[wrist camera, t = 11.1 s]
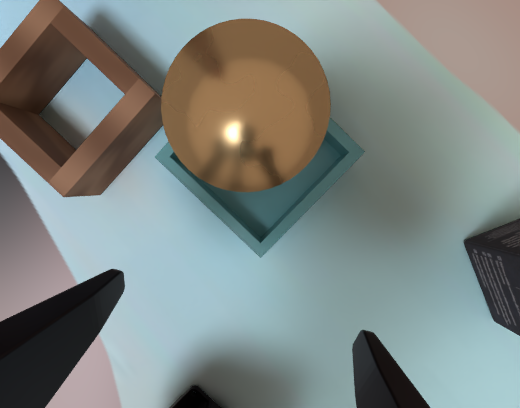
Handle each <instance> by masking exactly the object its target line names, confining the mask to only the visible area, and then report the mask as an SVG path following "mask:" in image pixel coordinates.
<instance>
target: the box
mask: <svg viewBox="0 0 520 408" xmlns="http://www.w3.org/2000/svg"><path fill="white" fill-rule="evenodd" d="M464 244H465V247H466V250H467V252H468V255H469V257H470V260H471V262H472V265H473V268H474V270H475V273H476V275H477V278H478V281H479V283H480V286H481V289H482V291H483V294H484V296H485V299H486V301H487V304H488V306H489V309H490V312H491V314H492V317H493V319H494V321H495V322H496V323H498V324H500V325H502V326H503V327H505V328H507V329H509V330H510V331H512V332H514V333H516V334H517V335H519V336H520V219H518V220H516V221H513V222H511V223H508V224H506V225H503V226H501V227H498V228H496V229H493V230H490V231H488V232H485V233H483V234H480V235H478V236H475V237H473V238H470V239H467V240H465V241H464Z"/></svg>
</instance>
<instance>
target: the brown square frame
mask: <svg viewBox="0 0 520 408" xmlns="http://www.w3.org/2000/svg"><path fill="white" fill-rule="evenodd" d="M86 58H88V59H89V60H90V61H91V62H92V63H93V64H94V65H95V66H96V67H97V68H98V69H99V70H100V71H101V72H102V73H103V74H104V75H105V76H106V77H107V78H108V79H110V80H111V81H112V82H113V83H114V84H115V85H116V86H117V87H118V88H119V89H120V90H121V91H122V92H123V93H124V94H125V95H124V96H123V97H122V99H121V100H120V101H119V102H118V103H117V104H116V105H115V107H114V108H113V109H112V110H111V111H110V112H109V113H108V115H107V116H106V117H105V118H104V119H103V120H102V121H101V123H100V124H99V125H98V126H97V127H96V128H95V129H94V131H93V132H92V133H91V134H90V135H89V136H88V137H87V139H86V140H85V141H84V142H83V143H82V144H81V145H80V147H79V148H78V149H77V150H76V149H75V148H74V147H72V146H71V145H70V144H69V143H68V142H67V141H66V140H65V139H64V138H63V137H62V136H61V135H60V134H59V133H58V132H56V131H55V130H54V129H53V128H52V127H51V126H50V125H49V124H48V123H47V122H46V121H45V120H44V119H43V118H42V117H41V116H39V114H40V113H41V111H42V110H43V109H44V108H45V107H46V105H47V104H48V103H49V102H50V101H51V100H52V98H53V97H54V96H55V95H56V94H57V92H58V91H59V90H60V89H61V88H62V87H63V85H64V84H65V83H66V82H67V81H68V80H69V78H70V77H71V76H72V75H73V74H74V72H75V71H76V70H77V69H78V68H79V67H80V65H81V64H82V63H83V62H84V61H85V59H86ZM161 99H162V97H161V96H160V95H159V94H158V93H157V92H156V91H155V90H154V89H153V88H152V87H151V86H150V85H149V84H148V83H147V82H146V81H144V80H143V79H142V78H141V77H140V76H139V75H138V74H137V73H136V72H135V71H134V70H133V69H132V68H131V67H130V66H129V65H128V64H127V63H126V62H125V61H124V60H123V59H122V58H121V57H120V56H118V55H117V54H116V53H115V52H114V51H113V50H112V49H111V48H110V47H109V46H108V45H107V44H106V43H105V42H104V41H103V40H102V39H101V38H100V37H99V36H98V35H97V34H96V33H95V32H93V31H92V30H91V29H90V28H89V27H88V26H87V25H86V24H85V23H84V22H83V21H82V20H80V19H79V18H78V17H77V16H76V15H75V14H74V13H73V12H71V11H70V10H69V9H68V8H67V7H66V6H65V5H64V4H63V3H61V2H60V1H59V0H39V2H38V3H37V4H36V5H35V7H34V8H33V9H32V10H31V11H30V13H29V14H28V15H27V16H26V18H25V19H24V20H23V21H22V23H21V24H20V25H19V26H18V27H17V29H16V30H15V31H14V32H13V34H12V35H11V36H10V37H9V38H8V40H7V41H6V42H5V43H4V45H3V46H2V47H1V48H0V139H2V140H3V141H4V142H5V143H6V144H7V145H8V146H9V147H10V148H11V149H12V150H13V151H14V152H15V153H17V154H18V155H19V156H20V157H21V158H22V159H23V160H24V161H25V162H26V163H27V164H28V165H29V166H31V167H32V168H33V169H34V170H35V171H36V172H37V173H38V174H39V175H40V176H41V177H42V178H43V179H45V180H46V181H47V182H48V183H49V184H50V185H51V186H52V187H53V188H54V189H55V190H56V191H57V192H59V193H60V194H61V195H62V196H63V197H74V196H93V195H101V193H102V192H103V191H104V190H105V189H106V188H107V187H108V186H109V185H110V183H111V182H112V181H113V180H114V179H115V178H116V177H117V176H118V175H119V173H120V172H121V171H122V170H123V169H124V168H125V167H126V166H127V165H128V163H129V162H130V161H131V160H132V159H133V158H134V157H135V156H136V155H137V153H138V152H139V151H140V150H141V149H142V148H143V147H144V146H145V144H146V143H147V142H148V141H149V140H150V139H151V138H152V137H153V136H154V134H155V133H156V132H157V131H158V130H159V129H160V128H161V127H162V126H163V121H162V113H161Z"/></svg>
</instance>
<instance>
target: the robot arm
mask: <svg viewBox="0 0 520 408" xmlns="http://www.w3.org/2000/svg"><path fill="white" fill-rule="evenodd" d="M124 289H125V283H124V273H123V271H120V270H116V269H110V270H108V271H106V272H103V273H101V274H99V275H97V276H95V277H93V278H91V279H89V280H87V281H85V282H82V283H80V284H78V285H76V286H74V287H72V288H70V289H68V290H66V291H64V292H62V293H59V294H58V295H55V296H53V297H51V298H49V299H47V300H45V301H43V302H41V303H39V304H36V305H34V306H32V307H30V308H28V309H26V310H24V311H22V312H20V313H18V314H16V315H13V316H11V317H9V318H7V319H5V320H3V321H1V322H0V408H45V407H46V405H47V404H48V403H49V402H50V400H51V399H52V397H53V396H54V395H55V393H56V392H57V391H58V389H59V388H60V386H61V385H62V384H63V382H64V381H65V379H66V378H67V377H68V375H69V374H70V373H71V371H72V370H73V368H74V367H75V366H76V364H77V363H78V361H79V360H80V359H81V357H82V356H83V355H84V353H85V352H86V351H87V349H88V348H89V346H90V345H91V344H92V342H93V341H94V340H95V338H96V337H97V335H98V334H99V332H100V331H101V329H102V328H103V326H104V324H105V323H106V321H107V319H108V318H109V316H110V314H111V312H112V311H113V309H114V307H115V306H116V304H117V302H118V301H119V299H120V297H121V295H122V294H123V292H124ZM352 351H353V368H354V386H355V398H356V405H357V408H430V406H429V405H428V404H427V402H426V401H425V400H424V398H423V397H422V396H421V395H420V393H419V392H418V391H417V389H416V388H415V387H414V385H413V384H412V383H411V381H410V380H409V379H408V377H407V376H406V375H405V373H404V372H403V371H402V369H401V368H400V367H399V365H398V364H397V363H396V361H395V360H394V359H393V357H392V356H391V355H390V353H389V352H388V351H387V349H386V348H385V347H384V345H383V344H382V343H381V341H380V340H379V339H378V337H377V336H376V335H375V334H374V333H373V332H370V331H366V330H361V331H360V333H359V334H358V336H357V338H356V340H355V341H354V343H353V349H352ZM193 391H194V392H196V393H193ZM170 408H221V407H220V406H219V405H218V404H217V403H216V402H215V401H213V400H212V399H211V398H210V397H209V396H208V395H207V394H206V393H205V392H204V391H203V390H202V389H200V388H199V387H198V386H196V385H194V386H191V387H190V388H189V389H188V390H187V391H186V392H185V393H184V394H183V395H182V396H181V397H180V398H179V399H178V400H177V401H176V402H175V403H174V404H173V405H172V406H171V407H170Z"/></svg>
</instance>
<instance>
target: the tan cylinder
mask: <svg viewBox="0 0 520 408" xmlns="http://www.w3.org/2000/svg"><path fill="white" fill-rule="evenodd" d="M330 105H331V103H330V91H329V87H328V82H327V79H326V76H325V73H324V70H323V68H322V66H321V64H320V62H319V61H318V59H317V57H316V56H315V55H314V53H313V52H312V50H311V49H310V48H309V47H308V46H307V45H306V44H305V43H304V42H303V41H302V40H301V39H300V38H299V37H297V36H296V35H295V34H293V33H292V32H290V31H289V30H287V29H285V28H283V27H281V26H279V25H277V24H274V23H271V22H267V21H264V20H257V19H236V20H229V21H225V22H222V23H218V24H216V25H214V26H211V27H209V28H207V29H205V30H204V31H202V32H200V33H199V34H198V35H196V36H195V37H194V38H192V39H191V40H190V41H189V42H188V43H187V44H186V45H185V46H184V47H183V48H182V49H181V51H180V52H179V53H178V55H177V56H176V57H175V59H174V61H173V63H172V64H171V66H170V68H169V71H168V73H167V76H166V78H165V82H164V86H163V91H162V99H161V113H162V121H163V126H164V130H165V133H166V136H167V138H168V141H169V143H170V145H171V147H172V149H173V151H174V153H175V154H176V155H177V157H178V158H179V160H180V161H181V162H182V163H183V164H184V165H185V166H186V167H187V169H188V170H189V171H191V172H192V173H193V174H194V175H196V176H197V177H198V178H200V179H202V180H203V181H205V182H206V183H209V184H211V185H213V186H215V187H218V188H221V189H225V190H229V191H235V192H256V191H262V190H266V189H270V188H273V187H276V186H278V185H281V184H282V183H284V182H286V181H288V180H290V179H291V178H293V177H294V176H295V175H297V174H298V173H299V172H300V171H302V170H303V169H304V168H305V167H306V166H307V165H308V163H309V162H310V161H311V160H312V159H313V157H314V156H315V154H316V153H317V151H318V150H319V148H320V146H321V144H322V142H323V140H324V137H325V134H326V131H327V128H328V124H329V118H330Z"/></svg>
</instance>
